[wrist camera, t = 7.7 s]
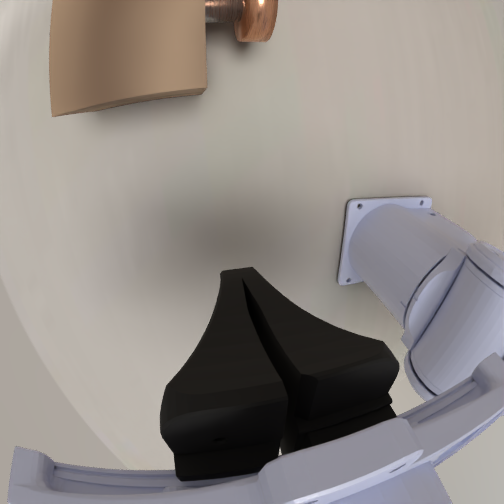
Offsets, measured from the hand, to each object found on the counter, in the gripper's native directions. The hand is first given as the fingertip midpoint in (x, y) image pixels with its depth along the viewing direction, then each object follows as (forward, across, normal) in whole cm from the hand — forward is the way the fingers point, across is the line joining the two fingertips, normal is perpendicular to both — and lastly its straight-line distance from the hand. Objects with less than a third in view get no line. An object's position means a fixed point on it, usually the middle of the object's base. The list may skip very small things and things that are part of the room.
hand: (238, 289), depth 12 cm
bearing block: (+9, +4, -13) cm, 17 cm away
